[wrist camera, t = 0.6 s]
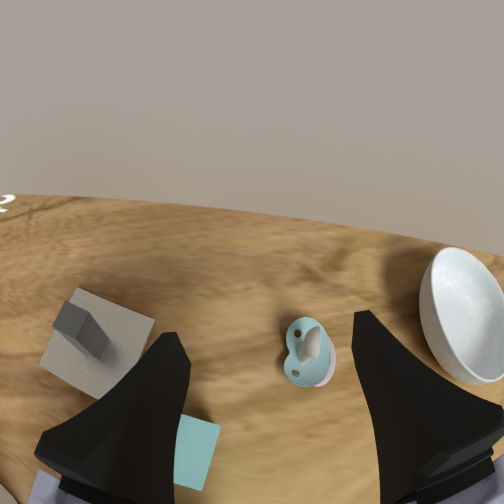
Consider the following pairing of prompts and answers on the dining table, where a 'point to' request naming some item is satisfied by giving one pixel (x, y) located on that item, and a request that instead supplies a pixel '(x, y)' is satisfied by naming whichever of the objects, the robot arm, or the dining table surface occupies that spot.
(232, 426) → the dining table surface
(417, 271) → the dining table surface
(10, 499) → the white jar
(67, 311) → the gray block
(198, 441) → the teal block
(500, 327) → the serving bowl
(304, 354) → the pacifier
